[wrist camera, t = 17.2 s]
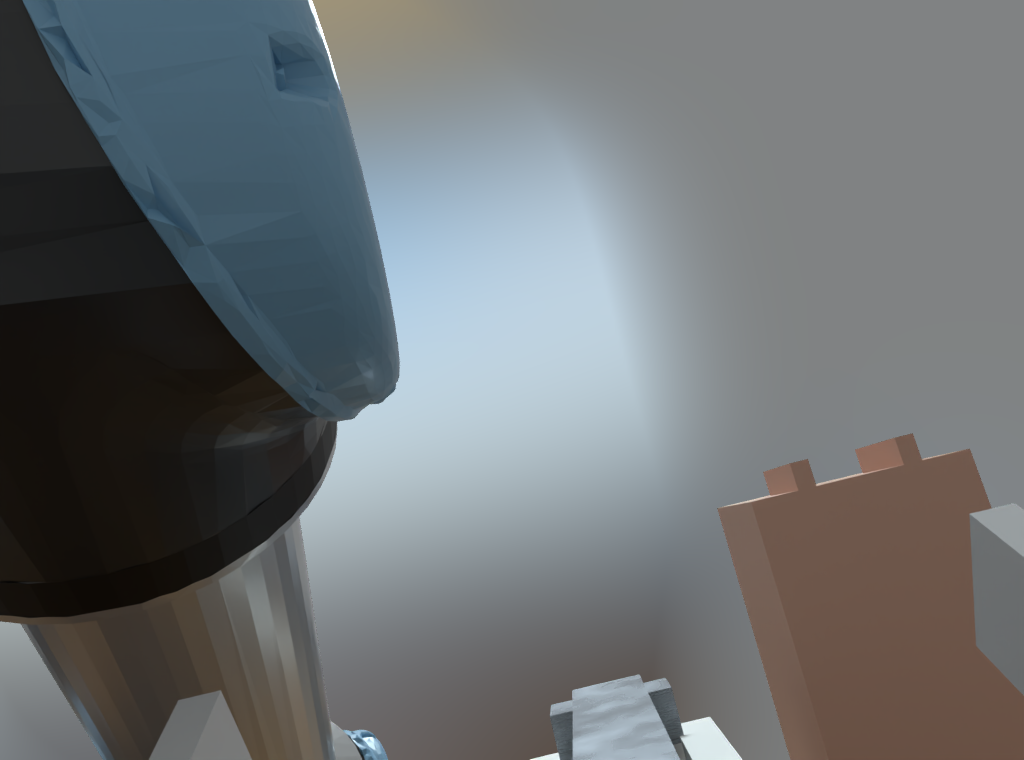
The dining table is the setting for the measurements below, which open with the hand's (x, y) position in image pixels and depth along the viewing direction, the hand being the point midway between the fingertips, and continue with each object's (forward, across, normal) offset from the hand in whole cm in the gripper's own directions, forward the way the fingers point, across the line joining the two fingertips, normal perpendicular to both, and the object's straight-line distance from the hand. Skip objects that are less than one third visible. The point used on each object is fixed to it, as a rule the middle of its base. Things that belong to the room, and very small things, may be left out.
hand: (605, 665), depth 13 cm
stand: (+15, +16, -42) cm, 47 cm away
